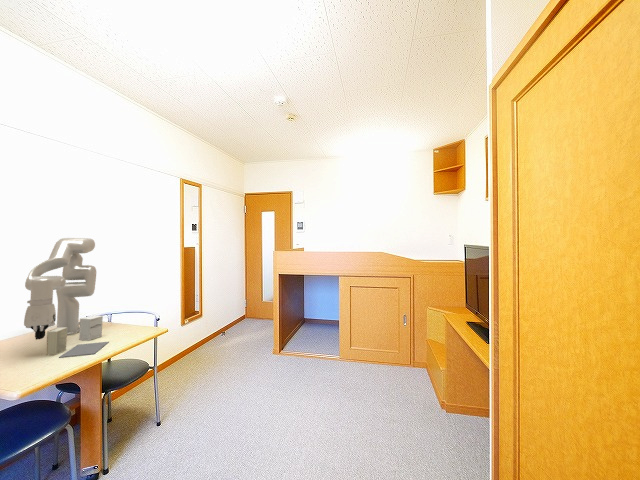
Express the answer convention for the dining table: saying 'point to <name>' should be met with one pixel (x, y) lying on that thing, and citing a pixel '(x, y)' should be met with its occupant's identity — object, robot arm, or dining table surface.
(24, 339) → the dining table surface
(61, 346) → the skincare box
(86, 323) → the supplement box
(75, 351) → the mat
